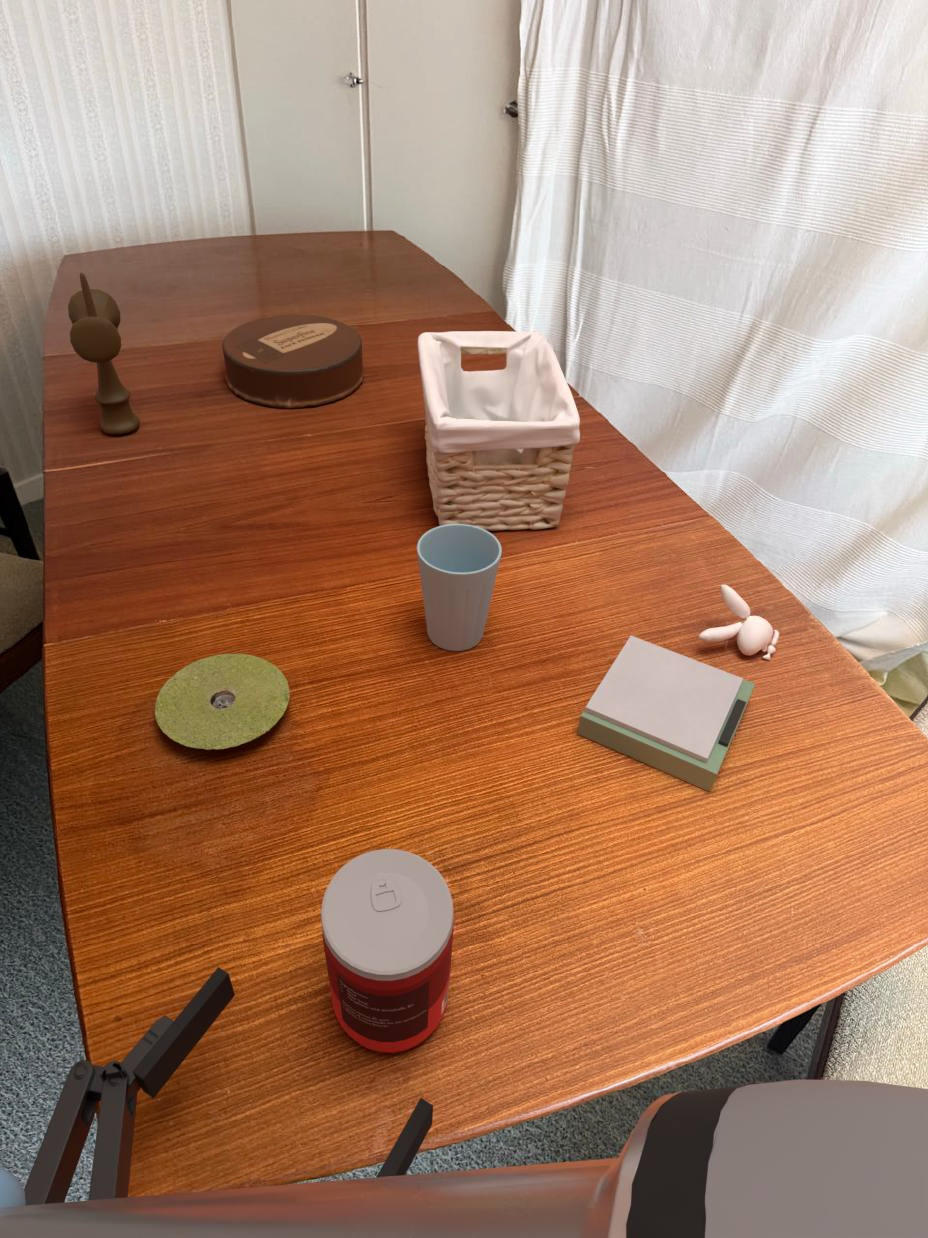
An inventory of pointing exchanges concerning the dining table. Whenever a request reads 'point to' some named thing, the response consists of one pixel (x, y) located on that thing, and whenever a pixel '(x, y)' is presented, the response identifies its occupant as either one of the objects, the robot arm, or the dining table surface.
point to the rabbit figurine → (743, 628)
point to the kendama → (101, 354)
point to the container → (293, 360)
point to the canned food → (388, 948)
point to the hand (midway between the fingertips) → (322, 1042)
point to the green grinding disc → (222, 701)
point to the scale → (667, 711)
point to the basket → (497, 430)
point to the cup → (457, 583)
